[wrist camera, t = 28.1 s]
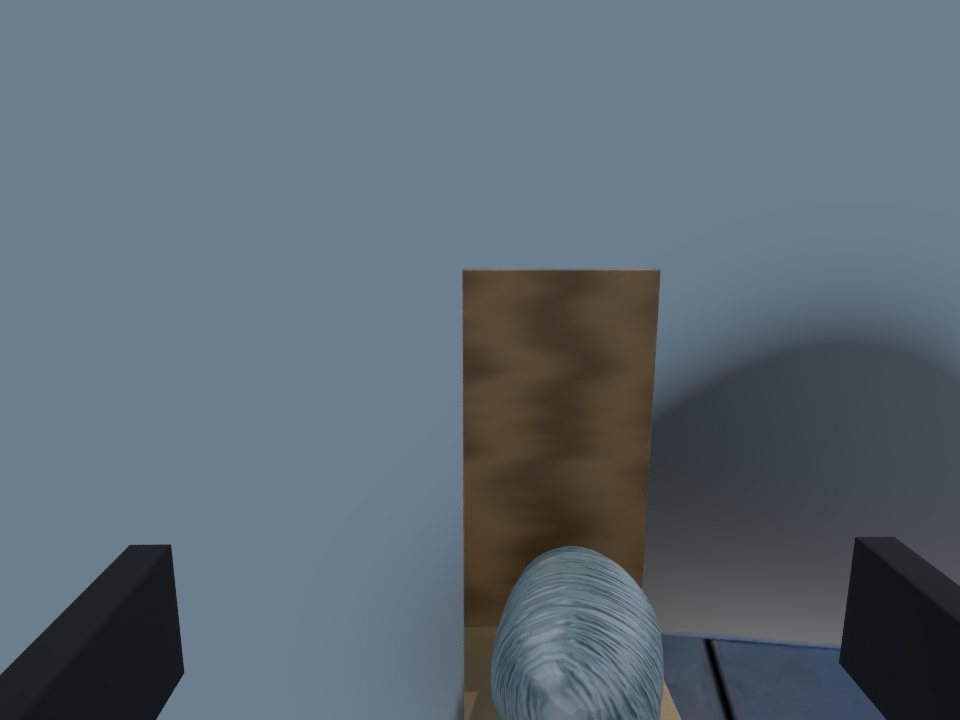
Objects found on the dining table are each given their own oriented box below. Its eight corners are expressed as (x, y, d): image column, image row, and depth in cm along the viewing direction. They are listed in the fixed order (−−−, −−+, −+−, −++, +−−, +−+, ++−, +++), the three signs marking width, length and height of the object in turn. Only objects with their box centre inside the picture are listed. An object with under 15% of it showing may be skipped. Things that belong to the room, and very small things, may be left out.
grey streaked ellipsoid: (530, 640, 46) (459, 538, 42) (662, 591, 44) (601, 479, 40) (547, 864, 34) (450, 749, 30) (732, 810, 32) (654, 680, 28)
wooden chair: (466, 1253, 33) (462, 313, 23) (464, 877, 51) (462, 268, 42) (711, 1243, 33) (810, 312, 23) (621, 874, 52) (656, 268, 42)
